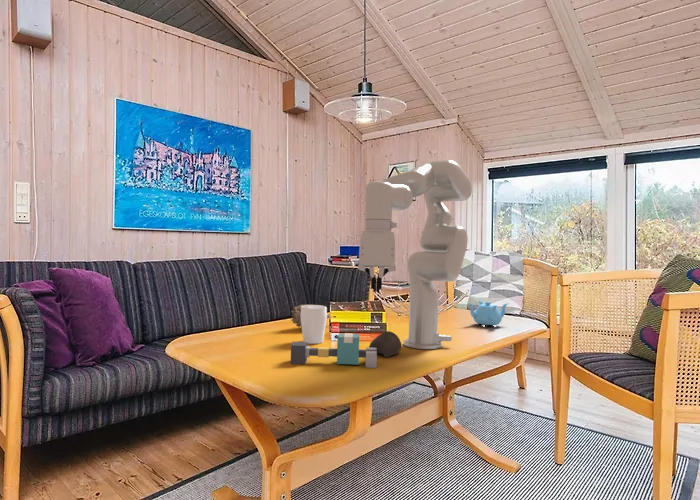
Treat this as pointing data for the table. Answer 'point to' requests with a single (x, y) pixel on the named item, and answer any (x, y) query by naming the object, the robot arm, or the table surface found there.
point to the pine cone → (297, 313)
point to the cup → (313, 323)
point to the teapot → (487, 313)
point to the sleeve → (348, 348)
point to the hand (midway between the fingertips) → (376, 291)
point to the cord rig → (327, 353)
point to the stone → (387, 344)
